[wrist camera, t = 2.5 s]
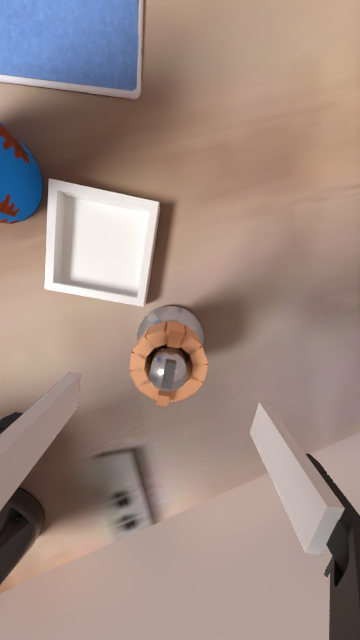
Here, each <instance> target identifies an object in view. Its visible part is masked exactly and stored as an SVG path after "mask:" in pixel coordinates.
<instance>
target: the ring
mask: <svg viewBox="0 0 360 640" xmlns="http://www.w3.org/2000/svg"><path fill="white" fill-rule="evenodd" d="M165 344H167V346H168V347H174V348H180V347H181V348H182V349H184V350H185V351H186V352H187V353H189V354H190V356H189V361H188V362H187V363H186V370H187V378H186V381H185V383H184V384H183V386H182V387H180V388H179V389H177V390H175V391H170V392H167V391H162V390H159V389H158V388H156V387H155V386H154V385H153V384H152V382H151V380H150V369H151V365H152V361H151V358H150V356H149V354H150V352H151V351H152V350H153V349H154V348H156V347H159V346H162V345H165ZM207 369H208V361H207V358H206V356H205V353H204V350H203V347H202V344H201V342H200V339H199V337H198V335H197V334H196V333H195V332H194V331H193V330H192V329H190V328H189V327H188V326H187V325H186V324H185V325H184V324H183V323H179V322H173V321H168V322H167V323H166V321H163V322H161V323H158V324H155V325H152V326H151V327H149V328H148V329H147V330H146V331H145V333H144V334H143V335H142V336H141V337H140V339H139V340H138V342H137V344H136V345H135V347H134V349H133V351H132V353H131V360H130V367H129V370H130V375H131V377H132V379H133V381H134V383H135V386H136V387H138V390H140V391H141V392H142V393H144V394H145V395H147V396H148V397H149V398H151V399H152V398H153V397H154V400H157V404H156V405H158V406H165V407H168V403H169V402H171V400H172V401H173V402H176V401H179V400H182V399H185V398H188V397H190V395H191V396H192V395H193V394H194V393H195V392H196V391H197V390H198V389H199V388H200V387H201V386H202V385H203V382H204V381H205V377H206V373H207Z"/></svg>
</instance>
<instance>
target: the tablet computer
mask: <svg viewBox="0 0 360 640" xmlns="http://www.w3.org/2000/svg"><path fill="white" fill-rule="evenodd" d="M143 4H144V0H0V82H4V83H13V84H21V85H29V86H37V87H46V88H53V89H61V90H69V91H77V92H85V93H90V94H98V95H107V96H113V97H121V98H128V99H137V98H138V97H139V96H140V94H141V73H142V40H143Z"/></svg>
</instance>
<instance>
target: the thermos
mask: <svg viewBox="0 0 360 640" xmlns="http://www.w3.org/2000/svg"><path fill="white" fill-rule="evenodd" d="M42 188H43V182H42V177H41V173H40V168H39V166H38V164H37V162H36V161H35V159H34V157H33V155H32V153H31V152H30V151H29V150H28V149H27V148H26V147H25V146H24V145H23V144H22V143H21V142H20V141H19V140H18V139H17V138H16V137H15V136H14V135H13V134H12V133H11V132H10V131H9V130H8V129H7V128H6V127H5V126H4V125H3V124H2V123H0V223H10V224H13V223H16V222H20V221H23V220H25V219H27V218H28V217H29V216H30V215H31V214H33V213H34V212H35V211H36V209H37V207H38V205H39V203H40V201H41V197H42Z"/></svg>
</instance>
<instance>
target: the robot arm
mask: <svg viewBox="0 0 360 640" xmlns="http://www.w3.org/2000/svg"><path fill="white" fill-rule="evenodd" d="M80 376H81V374H78V373H72V372H69V373H68V374H67V375H66V376H65V377H64V378H63V379H61V380H60V381H59V382H58V383H57V384H56V385H55V386H54V387H53V388H51V389H50V390H49V391H48V392H47V393H46V394H45V395H44V396H42V397H41V398H40V399H39V400H38V401H37V402H36V403H35V404H34V405H32V406H31V407H30V408H29V409H28V410H27V411H26V412H25V413H17V412H15V413H13V414H11V415H9V416H7V417H5V418H3V419H2V420H0V585H1V583H2V582H3V581H4V580H5V578H6V577H7V576H8V575H9V574H10V572H11V571H12V570H13V569H14V567H15V566H16V565H17V564H18V563H19V561H20V560H21V559H22V558H23V557H24V555H25V554H26V553H27V552H28V550H29V549H30V548H31V547H32V545H33V544H34V542H35V540H36V539H37V537H38V535H39V533H40V531H41V529H42V527H43V524H44V513H43V510H42V508H41V506H40V505H39V503H38V502H37V501H36V500H35V499H34V498H33V497H32V496H31V495H30V494H28V493H27V492H25V491H23V490H21V489H19V488H18V487H19V485H20V484H21V483H22V481H23V480H24V479H25V477H26V476H27V475H28V473H29V472H30V471H31V469H32V468H33V467H34V465H35V464H36V463H37V461H38V460H39V459H40V457H41V456H42V455H43V453H44V452H45V451H46V449H47V448H48V447H49V445H50V444H51V443H52V441H53V440H54V439H55V437H56V436H57V435H58V433H59V432H60V431H61V429H62V428H63V427H64V425H65V424H66V423H67V421H68V420H69V419H70V417H71V416H72V415H73V413H74V412H75V411H76V409H77V408H78V400H79V388H80ZM250 435H251V437H252V439H253V442H254V444H255V446H256V448H257V450H258V452H259V454H260V457H261V459H262V461H263V463H264V465H265V467H266V470H267V472H268V474H269V476H270V478H271V480H272V483H273V485H274V487H275V489H276V491H277V493H278V495H279V498H280V500H281V502H282V504H283V506H284V508H285V511H286V513H287V515H288V517H289V519H290V521H291V524H292V526H293V528H294V530H295V532H296V534H297V537H298V538H299V540H300V543H301V545H302V547H303V549H304V551H305V553H307V554H316V555H322V554H323V552H324V550H325V548H326V546H328V548H329V550H330V552H331V554H332V555H333V556H332V558H331V560H330V562H329V564H328V566H327V568H326V570H325V574H324V575H325V576H326V577H328V575H329V573H330V625H329V640H360V515H359V514H358V513H357V512H356V510H355V509H354V508H353V506H352V505H351V504H350V502H349V501H348V500H347V499H346V497H345V496H344V495H343V493H342V492H341V491H340V489H339V488H338V487H337V485H336V484H335V483H333V480H332V479H331V478H330V476H329V475H327V472H326V471H325V470H324V468H323V467H322V466H321V464H320V463H319V462H318V461H317V460H316V459H314V458H313V457H312V456H311V455H310V454H305V453H304V451H303V450H302V449H301V447H300V446H299V444H298V443H297V442H296V440H295V439H294V437H293V436H292V435H291V433H290V432H289V431H288V429H287V428H286V426H285V425H284V424H283V422H282V421H281V419H280V418H279V417H278V415H277V414H276V413H275V411H274V410H273V408H272V407H271V406H270V404H268V403H261V402H259V405H258V408H257V411H256V414H255V417H254V421H253V424H252V427H251V430H250Z"/></svg>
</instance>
